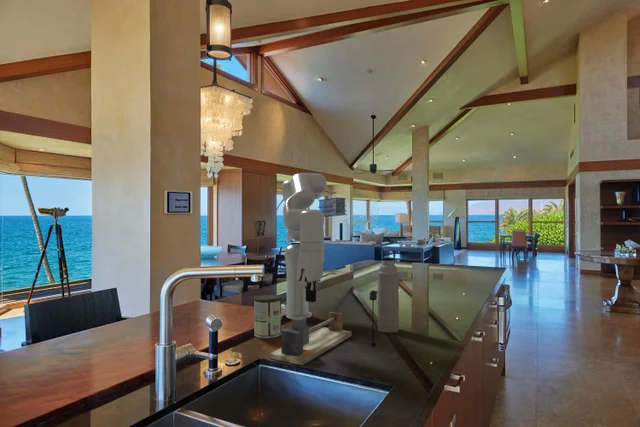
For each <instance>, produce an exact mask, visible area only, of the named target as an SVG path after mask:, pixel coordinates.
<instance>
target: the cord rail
mask: <svg viewBox="0 0 640 427" xmlns="http://www.w3.org/2000/svg"><path fill="white" fill-rule="evenodd" d="M327 325H328V327H327ZM325 326H326V327H325ZM280 336H281V337H280V338H281V341H280V342H281V347H280V348H278V349H276V350H274V351H272V352H270V353H269V359H270V360H271V359H272V360H276V361H281V362H285V363H291V364H295V365H297V366H298V365H300V366H304V365H305V364H308V363H309V362H310V361H313V360H314V359H315V358H317V357H319V356H320V355H323V354H324V353H325V352H327V351H328V350H331V349H332V348H334V347H336V346H337V345H339V344H340V343H342V342H344V341H345V340H347V339H349V338H351V337H352V336H353V332H352V331H351V330H344V329H343V312H336V311H329V312H328V319H327V320H325V321H323V322H320V323H319V324H316V325H314V326H312V327H309V343H308V344H306V345H304V346H303V331H300V330H294V329H289V328H284V329H281V335H280Z"/></svg>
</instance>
